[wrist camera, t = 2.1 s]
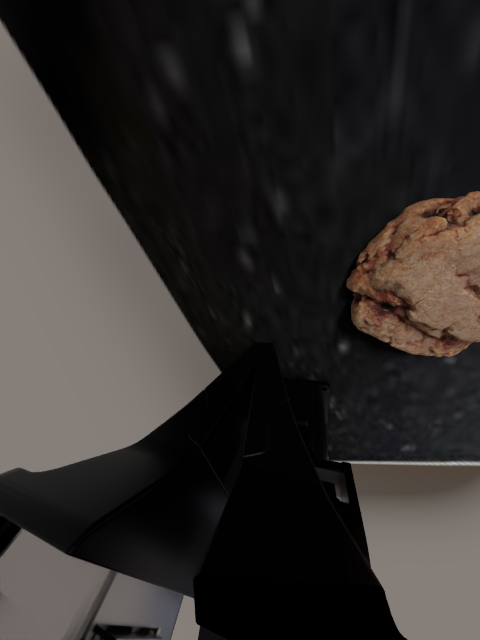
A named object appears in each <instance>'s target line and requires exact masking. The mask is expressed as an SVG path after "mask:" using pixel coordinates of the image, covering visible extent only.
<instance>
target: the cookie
mask: <svg viewBox="0 0 480 640" xmlns="http://www.w3.org/2000/svg"><path fill="white" fill-rule="evenodd" d="M356 262H357V264H356V265H357V267H356V269H354V270H352V272H351V275H350V277H349V278H348V279H347V284H346V286H347V288H348V289H350V290H351V291H354V294H353V296H355V297H354V300H353V302H352V304H351V314H352V316H351V318H352V321H353V323H354V325H355V326H356V327H357V328H358V329H359V330H361V331H362V332H364V333H367V334H369V335H371V336H373V337H376V338H378V339H379V340H381V341H383V342H387V343H389V344H390V346H392V347H395V348H397V349H400V350H402V351H405V352H408V353H411V354H414V355H415V354H418V355H424V356H436V357H441V356H443V355H444V356H449V357H450V356H453V355H455V354H458V353H459V352H460V351H462V350H464V349H466V348H467V347H468V346H469V345H470V344H471V343H473V342H480V192H479V191H476V192H470V193H468V194H467V195H466V196H462V197H458V198H455V199H445V198H434V199H429V200H425V201H420V202H417V203H415V204H413V205H410V206H408V207H407V208H405V210H404V211H403V212H402V213H401V214H400V215H399V216H398V217H396V218H395V219H394V220H392V221H391V222H389V223H388V224H387V225H386V227H385V228H384V229H383V230H382V231H381V232H380V233H379V234H378V235H377V236H376V237H375V238H374V239H373V240H371V241H370V242H369V243H368V245H367V247H366V248H365V249H364V250H363V251H362V252H361V253H360V255H359V258H358V260H357V261H356Z"/></svg>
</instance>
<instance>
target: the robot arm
mask: <svg viewBox="0 0 480 640" xmlns="http://www.w3.org/2000/svg"><path fill="white" fill-rule="evenodd" d="M329 397H330V385H329V384H328V383H327V382H320V381H309V380H298V379H287V378H283V376H282V373H281V369H280V366H279V362H278V359H277V355H276V351H275V348H274V344H273V343H262V342H255V343H254V344H253V345H252V346H251V347H249V348H248V349H247V350H246V351H245V352H244V353H243V354H242V355H241V356H240V357H239V358H238V359H236V360H235V361H234V362H233V363H232V364H231V365H230V366H229V367H228V368H227V369H226V370H224V371H223V372H222V373H221V374H220V375H219V376H218V377H217V378H216V379H215V380H214V381H213V382H211V383H210V384H209V385H208V386H207V387H206V388H205V390H203V391H202V392H200V393H199V394H198V395H197V396H196V397H195V398H194V399H193V400H192V401H190V402H189V403H188V404H187V405H186V406H184V408H182V409H181V410H180V411H178V412H177V413H176V414H174V415H173V416H172V417H171V418H169V419H168V420H167V421H166V422H164V423H163V424H162V425H160V426H159V427H158V428H156V429H155V430H154V431H152V432H151V433H150V434H149V435H147V436H146V437H144V438H143V439H142V440H140V441H138V442H137V443H135V444H133V445H131V446H129V447H126V448H123V449H120V450H117V451H113V452H110V453H107V454H103V455H100V456H97V457H93V458H91V459H87V460H83V461H80V462H77V463H74V464H70V465H67V466H64V467H60V468H57V469H53V470H49V471H44V472H30V471H27V470H25V469H22V468H15V469H13V470H10V471H7V472H4V473H2V474H0V640H170V639H171V636H172V633H173V629H174V626H175V622H176V619H177V616H178V612H179V609H180V606H181V603H182V599H183V596H184V595H186V596H189V597H192V598H194V601H195V618H196V623H197V624H198V625H200V630H199V637H198V640H407V639H406V638H404V637H403V636H402V635H401V634H400V632H399V631H398V629H397V627H396V625H395V622H394V620H393V617H392V615H391V612H390V608H389V605H388V602H387V599H386V595H385V591H384V589H383V587H382V585H381V584H380V582H379V581H378V579H377V577H376V576H375V574H374V572H373V571H372V569H371V565H370V558H369V552H368V546H367V541H366V536H365V531H364V526H363V521H362V517H361V512H360V507H359V502H358V497H357V492H356V488H355V483H354V478H353V473H352V469H351V464H350V463H347V462H342V463H339V462H334V461H329V460H328V449H327V436H326V424H327V421H328V409H329ZM336 496H339V497H341V501H340V500H339V499H338V498H337V497H336Z"/></svg>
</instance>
